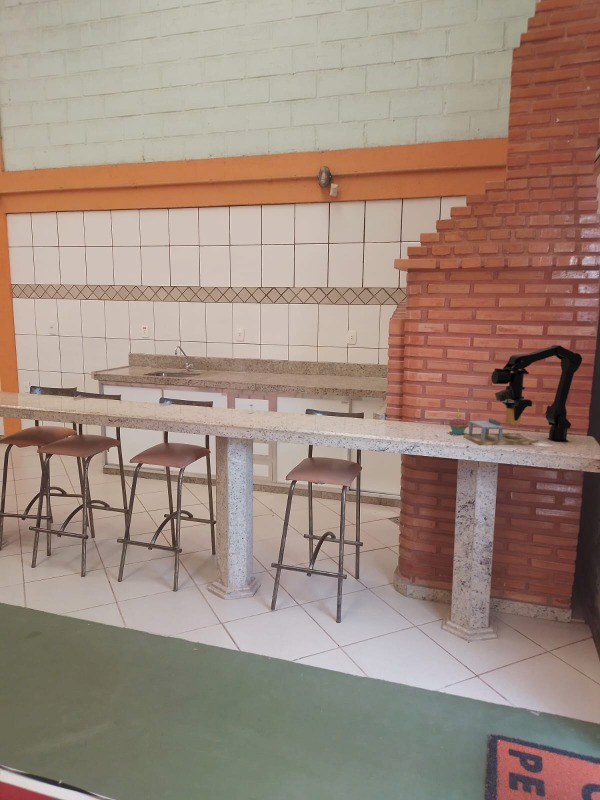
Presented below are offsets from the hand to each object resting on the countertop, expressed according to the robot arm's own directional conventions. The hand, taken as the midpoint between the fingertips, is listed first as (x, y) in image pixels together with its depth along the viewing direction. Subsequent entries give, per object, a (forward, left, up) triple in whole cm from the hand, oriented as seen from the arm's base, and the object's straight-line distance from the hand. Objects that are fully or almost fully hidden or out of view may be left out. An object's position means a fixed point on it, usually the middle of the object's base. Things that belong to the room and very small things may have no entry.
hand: (513, 419), depth 251 cm
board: (+5, 0, -10) cm, 11 cm away
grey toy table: (+13, 0, -8) cm, 15 cm away
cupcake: (+18, -16, -10) cm, 26 cm away
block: (0, 0, -2) cm, 2 cm away
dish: (-9, +9, -10) cm, 16 cm away
